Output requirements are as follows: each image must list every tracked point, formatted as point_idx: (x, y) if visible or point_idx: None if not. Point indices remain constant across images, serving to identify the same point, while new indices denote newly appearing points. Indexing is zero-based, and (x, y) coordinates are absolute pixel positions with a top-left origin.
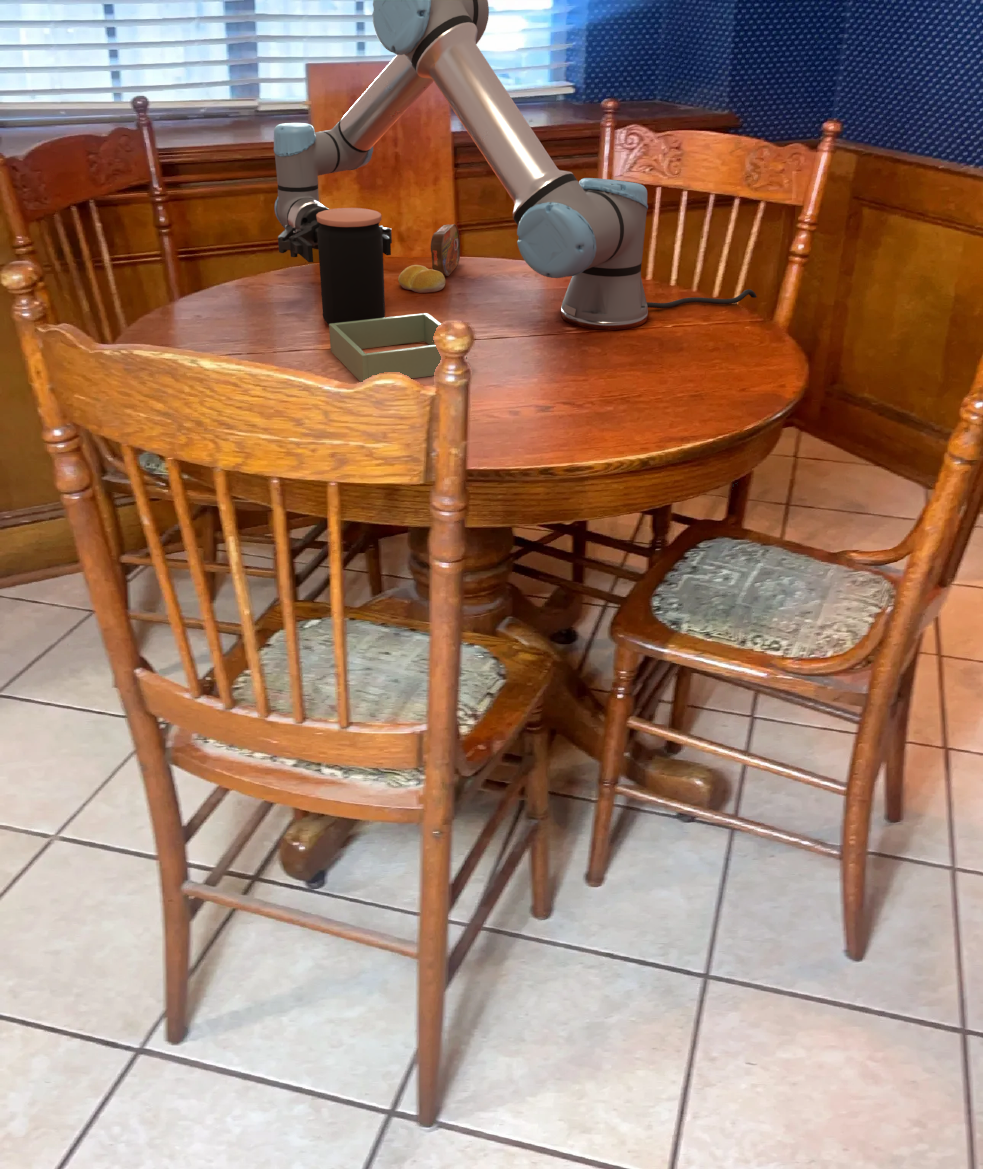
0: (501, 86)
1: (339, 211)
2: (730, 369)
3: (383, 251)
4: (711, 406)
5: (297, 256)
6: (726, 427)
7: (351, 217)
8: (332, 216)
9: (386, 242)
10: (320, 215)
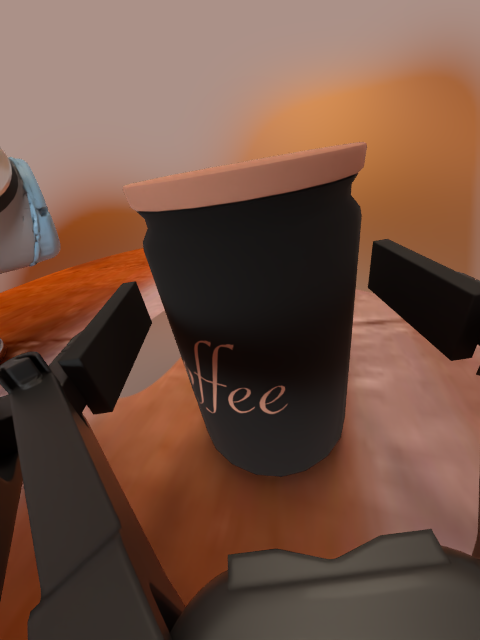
0: None
1: (263, 160)
2: (44, 287)
3: (142, 334)
4: (112, 261)
5: (476, 373)
6: (130, 251)
7: (243, 162)
8: (300, 152)
9: (138, 290)
10: (345, 144)
